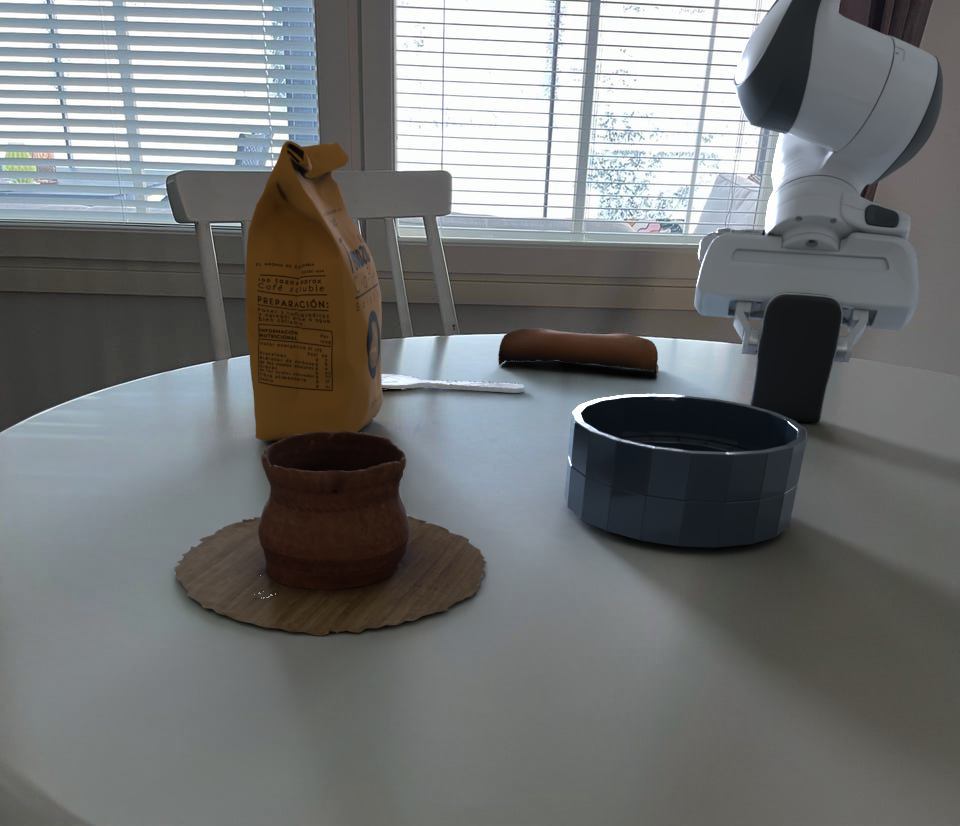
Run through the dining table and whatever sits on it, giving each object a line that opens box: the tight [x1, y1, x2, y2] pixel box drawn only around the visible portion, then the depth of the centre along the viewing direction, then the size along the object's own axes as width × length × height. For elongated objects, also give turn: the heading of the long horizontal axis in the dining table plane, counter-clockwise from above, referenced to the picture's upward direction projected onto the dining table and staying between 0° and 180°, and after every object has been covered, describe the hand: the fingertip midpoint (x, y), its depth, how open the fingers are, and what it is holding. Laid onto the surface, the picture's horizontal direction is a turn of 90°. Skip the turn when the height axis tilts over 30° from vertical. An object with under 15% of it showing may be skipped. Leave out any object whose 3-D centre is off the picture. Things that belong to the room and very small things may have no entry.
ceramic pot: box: [174, 431, 488, 637], centre depth 53 cm, size 18×18×7 cm
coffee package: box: [245, 140, 384, 442], centre depth 75 cm, size 10×12×22 cm
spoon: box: [381, 373, 525, 394], centre depth 96 cm, size 5×18×1 cm, turn 87°
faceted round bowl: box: [564, 393, 808, 548], centre depth 63 cm, size 15×15×6 cm
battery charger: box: [749, 292, 843, 423], centre depth 88 cm, size 7×4×11 cm, turn 73°
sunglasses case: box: [497, 327, 660, 379], centre depth 107 cm, size 18×7×7 cm
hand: (795, 354), depth 88 cm, fingers closed on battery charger, 7 cm apart
